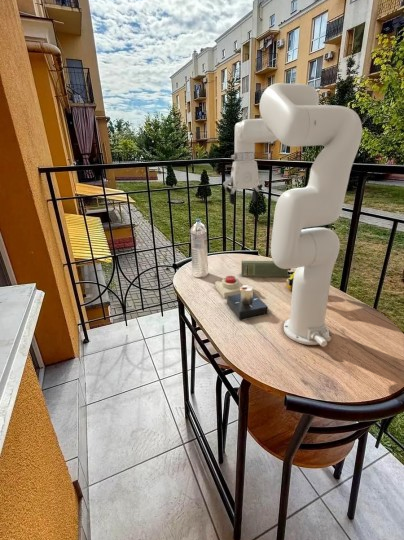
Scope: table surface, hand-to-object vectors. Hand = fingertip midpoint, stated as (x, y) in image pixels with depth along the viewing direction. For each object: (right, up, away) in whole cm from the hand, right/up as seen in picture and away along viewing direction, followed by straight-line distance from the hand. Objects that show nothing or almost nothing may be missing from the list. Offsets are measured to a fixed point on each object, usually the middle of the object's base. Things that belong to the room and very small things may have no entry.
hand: (243, 202), depth 112 cm
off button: (-6, -31, -5) cm, 32 cm away
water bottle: (-17, -30, +11) cm, 36 cm away
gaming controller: (+22, -35, -6) cm, 41 cm away
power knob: (-2, -37, -17) cm, 41 cm away
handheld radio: (+13, -30, +7) cm, 33 cm away
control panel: (-2, -40, -16) cm, 43 cm away
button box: (-6, -35, -3) cm, 35 cm away
